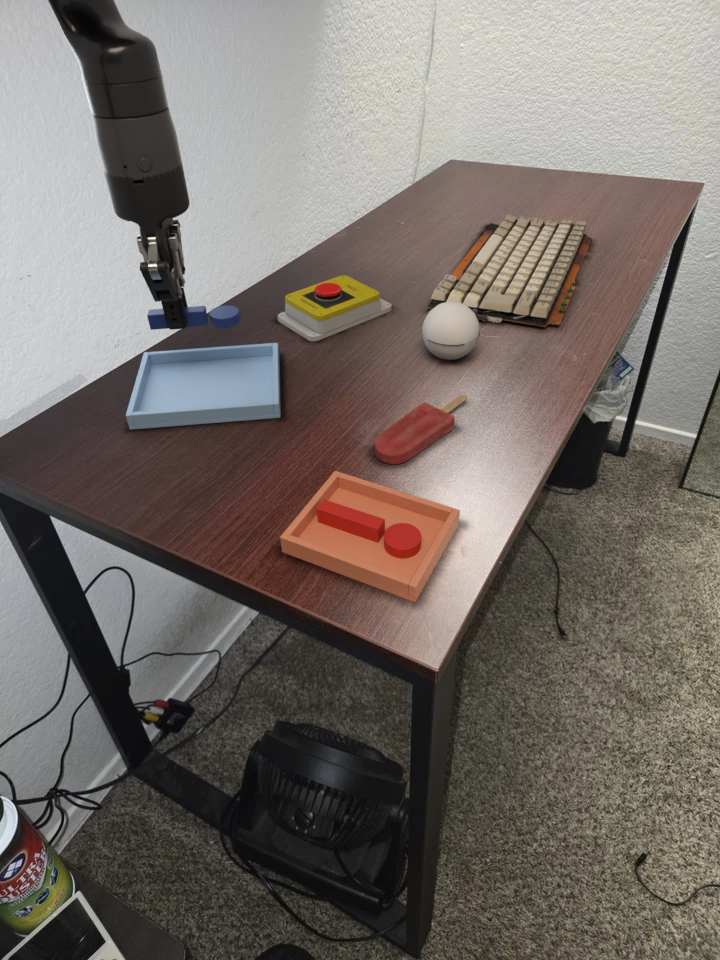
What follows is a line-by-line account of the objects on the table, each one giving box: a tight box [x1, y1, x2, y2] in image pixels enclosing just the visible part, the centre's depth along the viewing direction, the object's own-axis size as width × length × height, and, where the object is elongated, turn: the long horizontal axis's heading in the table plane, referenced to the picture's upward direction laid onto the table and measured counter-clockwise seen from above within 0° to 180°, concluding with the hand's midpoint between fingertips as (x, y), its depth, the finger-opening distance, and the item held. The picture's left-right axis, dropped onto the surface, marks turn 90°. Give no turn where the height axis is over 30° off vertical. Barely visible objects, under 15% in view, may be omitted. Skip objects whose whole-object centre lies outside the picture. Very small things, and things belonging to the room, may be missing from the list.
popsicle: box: [374, 394, 468, 465], centre depth 74 cm, size 4×2×15 cm
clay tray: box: [279, 470, 461, 603], centre depth 61 cm, size 13×10×2 cm
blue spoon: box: [146, 305, 241, 331], centre depth 75 cm, size 10×3×2 cm, turn 96°
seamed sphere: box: [421, 302, 500, 361], centre depth 84 cm, size 10×7×7 cm
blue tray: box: [125, 342, 282, 431], centre depth 81 cm, size 17×14×2 cm
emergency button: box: [277, 274, 393, 342], centre depth 95 cm, size 9×4×15 cm
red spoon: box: [317, 499, 421, 559], centre depth 61 cm, size 10×3×2 cm, turn 63°
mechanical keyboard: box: [426, 213, 593, 328], centre depth 105 cm, size 38×19×3 cm, turn 158°
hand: (178, 323), depth 76 cm, fingers closed on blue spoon, 1 cm apart
